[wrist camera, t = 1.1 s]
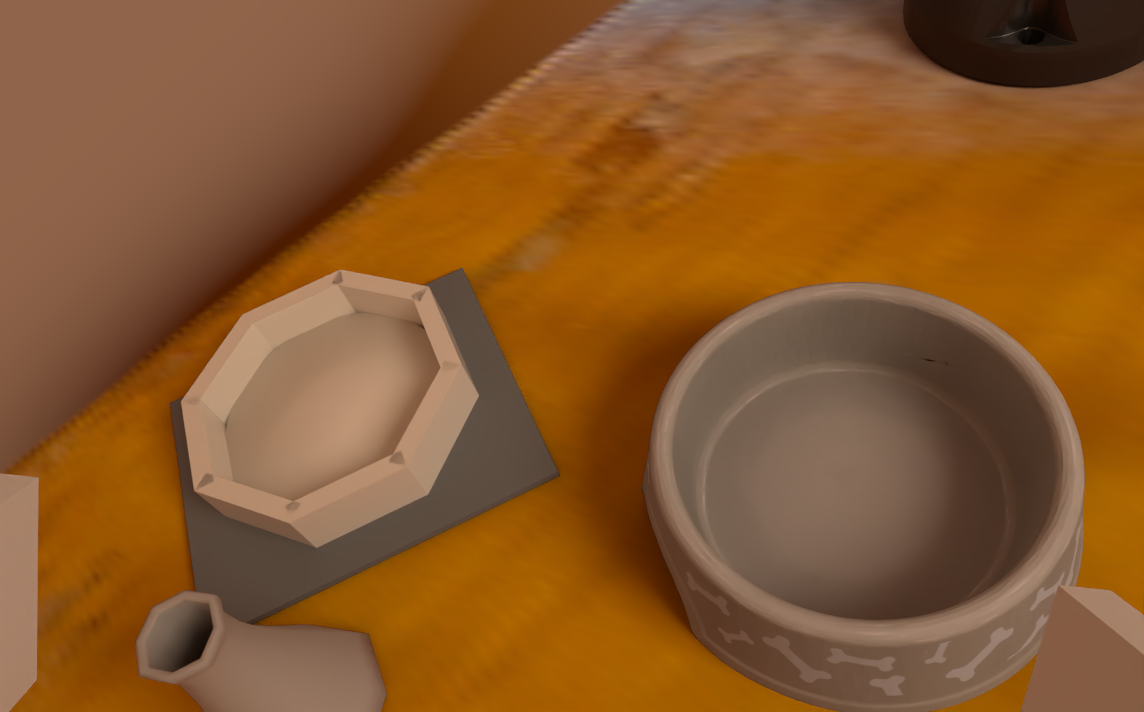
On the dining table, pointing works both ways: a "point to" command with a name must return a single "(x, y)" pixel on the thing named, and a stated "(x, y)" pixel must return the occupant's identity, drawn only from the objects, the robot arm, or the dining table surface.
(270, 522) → the bowl
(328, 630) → the flask
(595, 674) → the dining table surface
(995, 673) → the dog bowl
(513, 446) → the mat
